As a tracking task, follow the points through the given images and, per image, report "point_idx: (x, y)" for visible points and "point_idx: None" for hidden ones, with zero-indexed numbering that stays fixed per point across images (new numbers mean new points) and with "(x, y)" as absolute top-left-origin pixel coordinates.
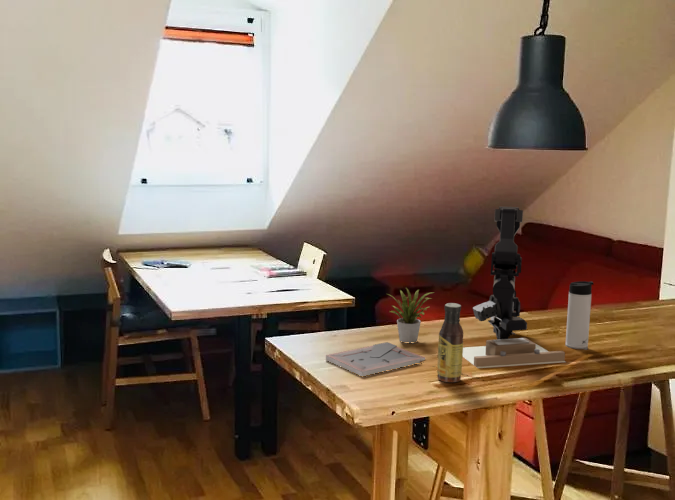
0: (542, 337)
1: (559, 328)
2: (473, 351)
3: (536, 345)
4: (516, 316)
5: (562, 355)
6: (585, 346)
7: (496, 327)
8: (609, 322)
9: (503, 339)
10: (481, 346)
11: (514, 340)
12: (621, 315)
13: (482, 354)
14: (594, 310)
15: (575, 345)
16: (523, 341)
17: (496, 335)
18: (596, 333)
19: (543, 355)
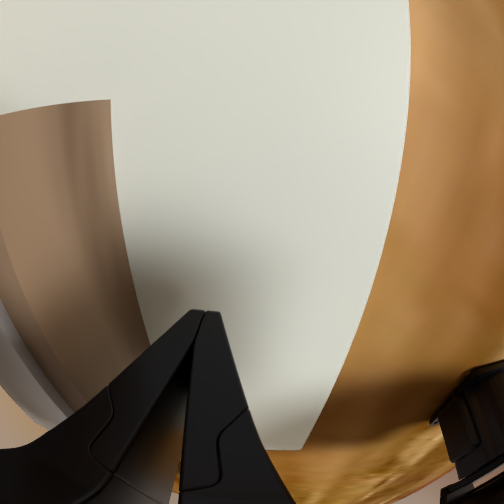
0: (366, 458)
1: (394, 473)
2: (246, 12)
3: (265, 446)
4: (443, 492)
5: None
6: None
7: (17, 492)
8: (363, 497)
9: (6, 345)
10: (392, 188)
11: (21, 391)
12: (378, 499)
13: (121, 71)
14: (419, 485)
15: None
16: (27, 410)
17: (232, 398)
18: (324, 494)
19: None
